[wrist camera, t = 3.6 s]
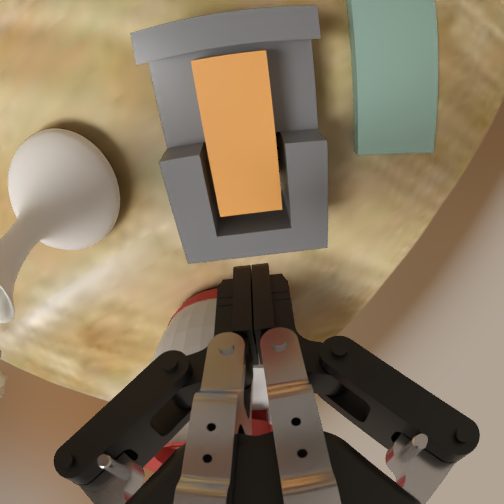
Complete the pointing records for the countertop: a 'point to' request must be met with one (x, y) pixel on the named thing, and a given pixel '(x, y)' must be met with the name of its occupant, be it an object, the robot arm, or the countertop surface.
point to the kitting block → (285, 120)
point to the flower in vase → (55, 203)
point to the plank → (239, 131)
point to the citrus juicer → (194, 340)
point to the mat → (394, 75)
